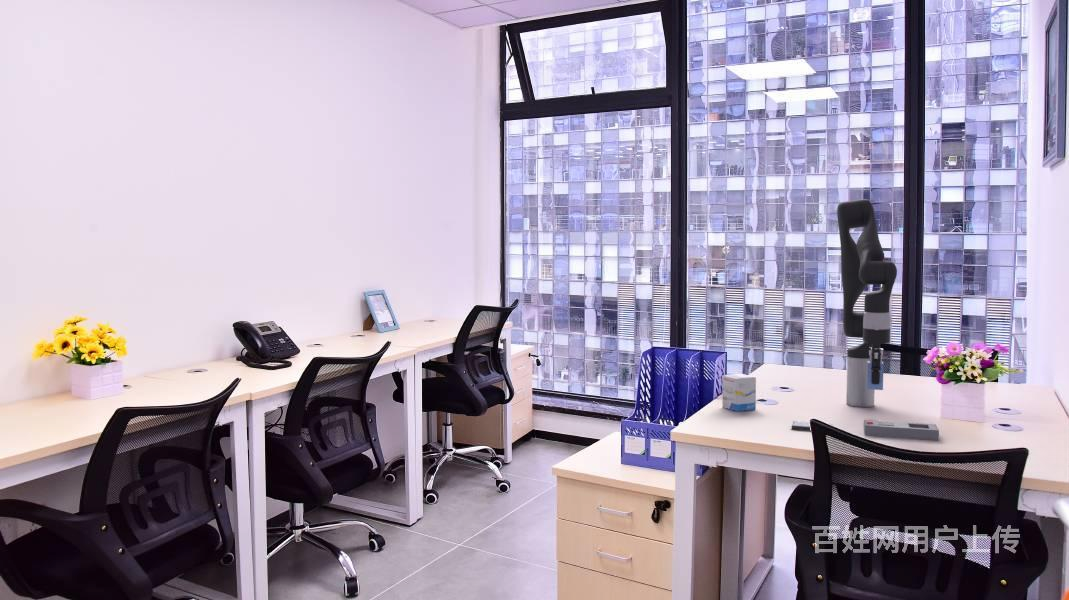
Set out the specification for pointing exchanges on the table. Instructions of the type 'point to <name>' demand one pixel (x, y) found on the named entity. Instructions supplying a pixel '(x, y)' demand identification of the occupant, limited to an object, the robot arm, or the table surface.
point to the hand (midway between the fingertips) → (875, 382)
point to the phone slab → (802, 425)
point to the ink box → (739, 392)
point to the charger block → (869, 377)
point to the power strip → (901, 429)
